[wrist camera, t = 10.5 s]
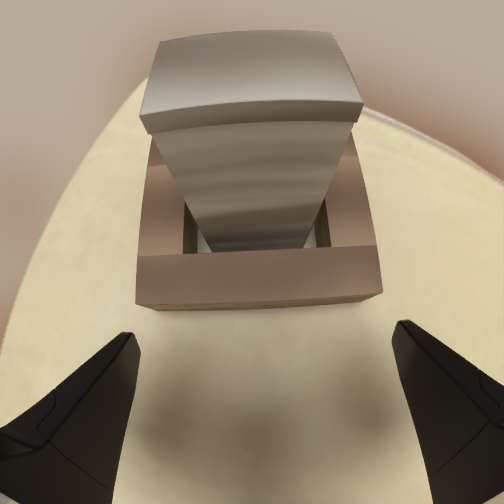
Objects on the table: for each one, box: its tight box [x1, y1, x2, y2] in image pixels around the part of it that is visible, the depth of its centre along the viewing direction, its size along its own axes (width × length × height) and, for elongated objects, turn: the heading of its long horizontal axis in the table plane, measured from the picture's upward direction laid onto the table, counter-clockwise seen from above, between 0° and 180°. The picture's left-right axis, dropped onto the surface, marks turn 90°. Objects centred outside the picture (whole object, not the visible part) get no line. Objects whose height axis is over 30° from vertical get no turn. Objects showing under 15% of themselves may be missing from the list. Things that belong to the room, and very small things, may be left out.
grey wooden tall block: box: [139, 30, 364, 253], centre depth 13 cm, size 4×6×12 cm, turn 93°
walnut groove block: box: [135, 132, 383, 311], centre depth 17 cm, size 10×12×4 cm
